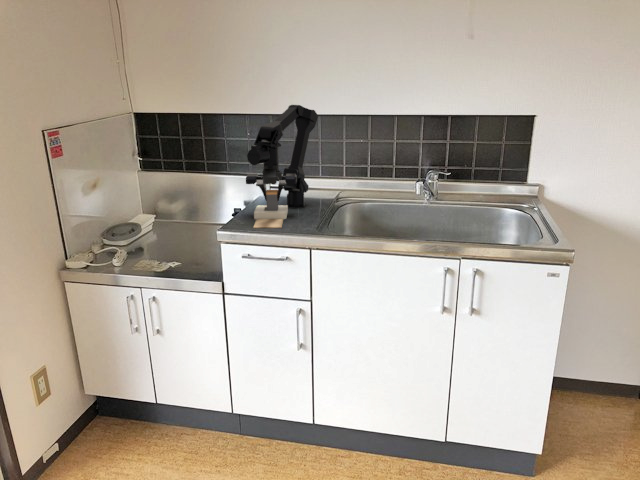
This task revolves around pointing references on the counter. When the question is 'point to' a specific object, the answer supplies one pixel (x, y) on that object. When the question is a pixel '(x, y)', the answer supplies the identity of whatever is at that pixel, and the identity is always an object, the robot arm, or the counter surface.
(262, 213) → the block
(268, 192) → the plug
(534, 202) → the counter surface
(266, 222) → the cork pad
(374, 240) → the counter surface
